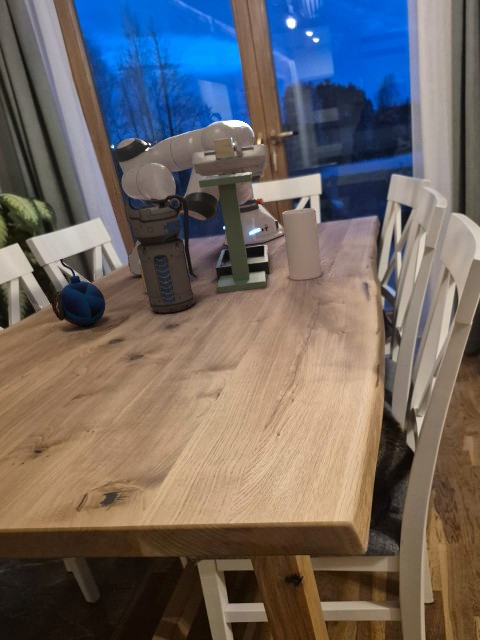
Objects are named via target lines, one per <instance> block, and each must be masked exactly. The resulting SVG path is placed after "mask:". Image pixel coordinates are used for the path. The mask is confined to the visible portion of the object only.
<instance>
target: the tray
mask: <svg viewBox="0 0 480 640" xmlns="http://www.w3.org/2000/svg"><path fill="white" fill-rule="evenodd" d="M245 247H246V254H247V260H248V267H249V273H250V272H258V271H265V273H266V275H270V273H271V272H270V255H269V248H268V244H259V245H252V246H251V245H250V246H245ZM215 272H216V279H217V281H219V278H220V276H226V275H233V274H232V268H231V262H230V255H229V249H222V250H221V252H220V255H219V257H218V260H217V263H216V266H215Z"/></svg>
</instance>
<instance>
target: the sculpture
mask: <svg viewBox="0 0 480 640" xmlns="http://www.w3.org/2000/svg"><path fill="white" fill-rule="evenodd" d="M139 244H141V243H140V242H139V241H138V240H137V239H136V242H135V246H134V248H133V249H132V251H131V252H130V253H129V255H128V256H127V261H128V263H127V265H128V267H129V272H130V273H131V274H132V275H133V274H134V275H136V276H141V272H140V267H139V260H140V258H139V255H138V251H137V247H138V245H139Z"/></svg>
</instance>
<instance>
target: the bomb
mask: <svg viewBox="0 0 480 640" xmlns="http://www.w3.org/2000/svg"><path fill="white" fill-rule="evenodd" d="M59 261H60V264H61V265H62V267H64V268H66V269H68V270H70V272H71V273H72V275H71V276H70V277H69V281H70V283H68V284H66V285H65V286H63V288H62V289H61V290H58V291H56V293H54V294H53V295H52V297H51V301H50V302H51V308H52V312H53V313H54V315H55V317H56V318H57V319H58V320H60V321H66V322H68V323H70V324H72V325H74V326H77V327H89V326H91V325H94V324H96V323H98V322H99V321H100V320H101V319H102V317H103V316H104V313H105V311H106V299H105V296H104V294H103V292H102V291H101V289H100V288H99V287H97V285H95V284H93V283H92V282H89V281H85V280H81V277H80V276H79V275H76V272H75V270H74V269H73V268H72V267H71V266H69V265H67V264H65V263H64V260H63V258H61V259H59Z"/></svg>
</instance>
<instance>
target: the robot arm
mask: <svg viewBox="0 0 480 640" xmlns="http://www.w3.org/2000/svg"><path fill="white" fill-rule="evenodd" d="M226 138H232V139H233V146H234V152H235V155H234V156H233V157H225V158H218V159H217V156H216V150H215V144H214V140H218V139H226ZM114 157H115V159H116V161H117V162H118V164H119V167H120V168H121V171H122V173H123V174H122V177H121V187H122V190H123V191H124V193H125V194H126V195H127V196H128V197H131V199H134V200H135V199H136V200H139V201H140V202H141V203H142V204H145V205H154V206H155V207H159V206H160V204H159V203H156V204H154V203H152V202H151V201H152V200H160V199H165V198H166V197H167V196H170V195H176V189H177V188H176V180H175V178H174V175H173V173H177V172H181V171H186V170H189V169H190V170H191V173H190V178H189V180H188V185H187V187H186V191H185V194H184V196H183V197H184V198H185V199H187V205H188V217H191V218H194V219H196V220H199V221H209V220H210V219H212V218H214V217H215V216H217V212H218V207H219V200H220V194H219V188H218V186H210V187H202V188H200V186H199V180H201V179H202V178H205V177H213V176H221V175H229V174H237V173H245V172H252V181H250V182H242V183H236V187H237V194H238V200H239V207H240V214H241V220H242V227H243V234H244V240H245V246H246V245H253V244H254V245H255V244H263V243H265V242H269V241H271V240H273V239H277V238H278V237H281V236H285V233H284V231H282V230H279V229H280V227H279V220H278V219H274V218H273V217H272V216H271V215H269V214H267V213H266V212H265V211H264V210H262V209H261V208H260V206H259V205H263V204H264V200H263V198H259V197H258V198H257V199H256V198H255V195H254V188H253V181H257V180H260V179H263V178H264V177H265V171H266V169H267V165H268V151H267V146H266V145H265V144H263V143H259V144H255V133H254V130H253V129H252V127H251V126H250V125H249V124H248V123H245V122H243V121H241V120H237V119H233V120H219V121H215V122H212V123H210V124H209V125H207V126H205V127H202V128H198V129H194V130H190V131H187V132H184V133H180V134H177V135H173V136H170V137H168V138H165V139H164V140H161V141H159V142H158V143H156V144H154V145H153V146H152V147H151V143H150V142H149V141H144V140H143V139H141V138H137V137H130V138H126V139H123V140H122V141H120V142H119V143H118V144H117V145H116V146H115V148H114ZM181 204H182V208H181V210H180V212H179V214H178V215H182V216H184V209H183V203H182V202H181ZM165 206H170V200H168V201H167V202H165ZM223 230H224V243H223V244H224V246H228V243H227V237H226V231H225V226H223Z"/></svg>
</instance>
